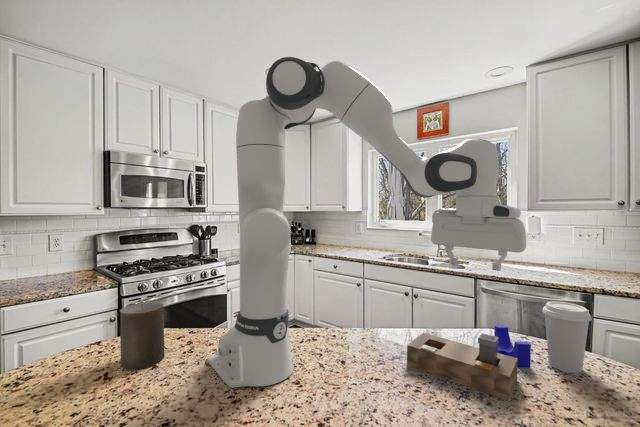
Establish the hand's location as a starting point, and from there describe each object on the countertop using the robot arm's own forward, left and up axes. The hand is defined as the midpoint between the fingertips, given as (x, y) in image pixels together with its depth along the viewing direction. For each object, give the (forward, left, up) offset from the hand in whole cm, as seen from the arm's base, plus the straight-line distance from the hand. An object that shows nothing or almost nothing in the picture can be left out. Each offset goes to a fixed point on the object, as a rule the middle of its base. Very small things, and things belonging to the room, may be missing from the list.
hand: (474, 267), depth 73 cm
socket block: (-2, -2, -25) cm, 25 cm away
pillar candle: (-65, -49, -25) cm, 86 cm away
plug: (+4, -2, -24) cm, 24 cm away
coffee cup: (+17, +18, -25) cm, 35 cm away
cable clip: (+5, +15, -26) cm, 30 cm away
